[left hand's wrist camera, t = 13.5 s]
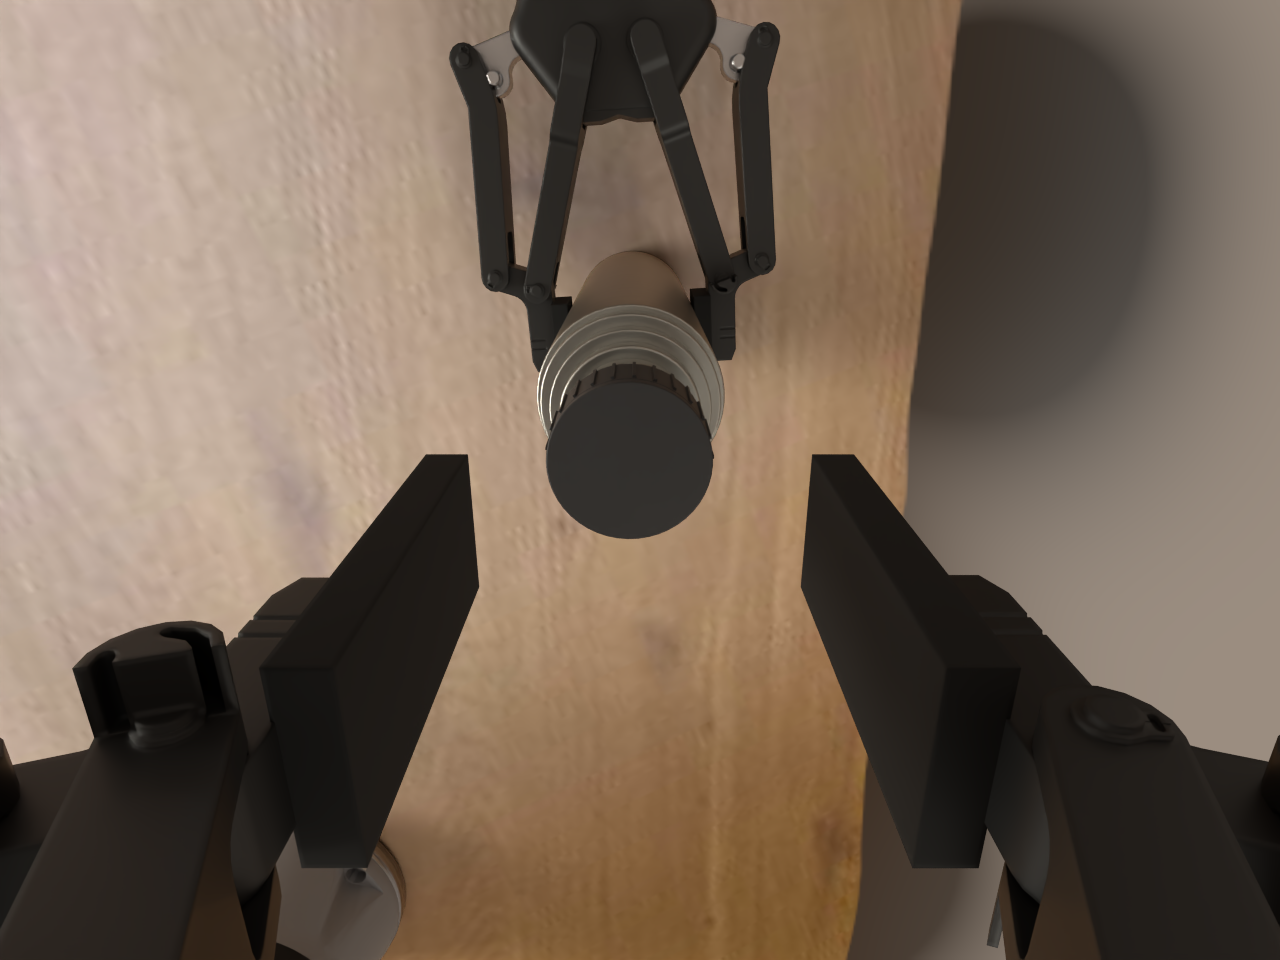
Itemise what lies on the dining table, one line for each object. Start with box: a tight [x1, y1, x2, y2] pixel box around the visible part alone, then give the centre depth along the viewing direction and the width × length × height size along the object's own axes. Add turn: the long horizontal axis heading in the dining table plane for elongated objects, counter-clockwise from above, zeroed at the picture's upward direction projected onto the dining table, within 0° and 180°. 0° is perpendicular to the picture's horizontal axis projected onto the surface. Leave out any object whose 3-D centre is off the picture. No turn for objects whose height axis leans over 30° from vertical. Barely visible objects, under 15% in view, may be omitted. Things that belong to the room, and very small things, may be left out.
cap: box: [545, 362, 714, 539], centre depth 19 cm, size 4×4×2 cm
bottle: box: [537, 251, 724, 442], centre depth 30 cm, size 6×6×25 cm
